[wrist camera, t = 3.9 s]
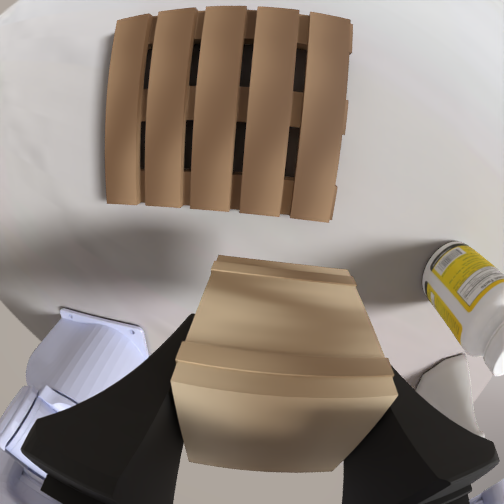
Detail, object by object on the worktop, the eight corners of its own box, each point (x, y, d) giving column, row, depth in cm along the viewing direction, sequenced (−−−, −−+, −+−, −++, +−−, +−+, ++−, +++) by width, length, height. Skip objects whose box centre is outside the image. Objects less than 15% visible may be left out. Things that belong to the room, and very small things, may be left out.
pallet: (116, 196, 17) (103, 203, 16) (126, 28, 12) (113, 21, 10) (328, 213, 17) (333, 223, 15) (347, 30, 12) (355, 21, 10)
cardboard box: (214, 349, 13) (187, 461, 7) (217, 253, 11) (167, 379, 5) (319, 359, 13) (333, 471, 7) (349, 268, 10) (401, 393, 5)
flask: (471, 343, 21) (511, 411, 12) (463, 379, 24) (491, 439, 15) (414, 371, 23) (444, 450, 14) (414, 403, 25) (435, 470, 16)
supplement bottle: (456, 301, 19) (512, 379, 10) (410, 297, 19) (466, 392, 10) (480, 244, 17) (555, 312, 8) (434, 233, 17) (519, 312, 8)
